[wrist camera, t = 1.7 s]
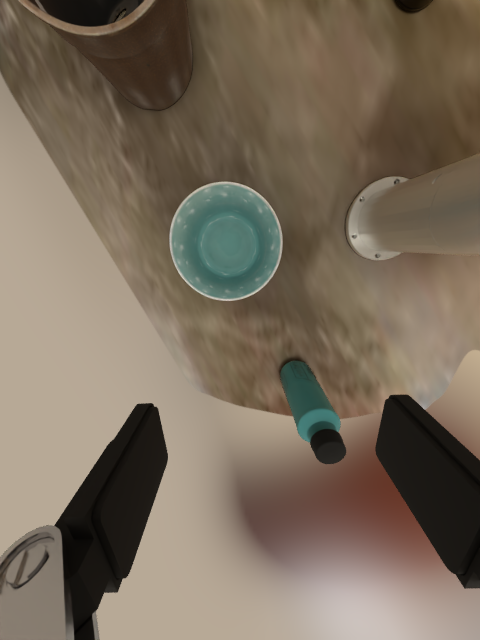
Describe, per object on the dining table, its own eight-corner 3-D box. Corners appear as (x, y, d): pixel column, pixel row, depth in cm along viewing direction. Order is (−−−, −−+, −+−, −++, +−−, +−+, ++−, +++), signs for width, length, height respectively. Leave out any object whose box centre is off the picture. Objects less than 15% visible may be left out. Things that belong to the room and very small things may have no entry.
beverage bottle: (272, 375, 47) (294, 463, 28) (288, 350, 45) (325, 427, 26) (298, 387, 48) (336, 480, 29) (315, 363, 46) (368, 446, 27)
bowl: (171, 205, 36) (153, 195, 28) (266, 185, 35) (274, 168, 28) (196, 297, 41) (186, 309, 34) (279, 281, 40) (289, 290, 33)
